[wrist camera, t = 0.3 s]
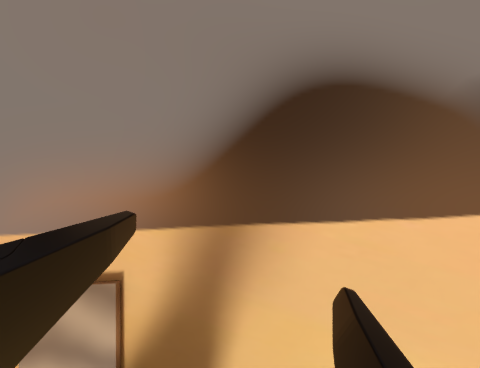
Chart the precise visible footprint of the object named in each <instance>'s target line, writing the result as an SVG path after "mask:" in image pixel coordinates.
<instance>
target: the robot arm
mask: <svg viewBox="0 0 480 368" xmlns="http://www.w3.org/2000/svg"><path fill="white" fill-rule="evenodd" d="M135 231H136V214H135V213H132V212H129V211H124V212H120V213H117V214H113V215H109V216H105V217H101V218H98V219H94V220H90V221H87V222H83V223H79V224H75V225H72V226H68V227H64V228H61V229H57V230H53V231H49V232H45V233H42V234H38V235H34V236H30V237H27V238H25V239H19V240H15V241H12V242H8V243H4V244H0V368H15V367H16V366H17V365H18V364H19V363H20V362H21V360H22V359H23V358H24V357H25V356H26V355H27V354H28V353H29V352H30V351H31V350H32V349H33V348H34V346H35V345H36V344H37V343H38V342H39V341H40V340H41V339H42V338H43V337H44V336H45V335H46V333H47V332H48V331H49V330H50V329H51V328H52V327H53V326H54V325H55V324H56V323H57V322H58V321H59V319H60V318H61V317H62V316H63V315H64V314H65V313H66V312H67V311H68V310H69V309H70V308H71V306H72V305H73V304H74V303H75V302H76V301H77V300H78V299H79V298H80V297H81V296H82V295H83V294H84V292H85V291H86V290H87V289H88V288H89V287H90V286H91V285H92V284H93V283H94V282H95V281H96V279H97V278H98V277H99V276H100V275H101V274H102V273H103V272H104V271H105V270H106V269H107V268H108V266H109V265H110V264H111V263H112V262H113V261H114V259H115V258H116V257H117V256H118V254H119V253H120V252H121V250H122V249H123V248H124V246H125V245H126V244H127V242H128V241H129V240H130V238H131V237H132V236H133V234H134V233H135ZM333 355H334V364H335V368H414V367H413V366H412V365H411V363H410V362H409V361H408V360H407V358H406V357H405V356H404V354H403V353H402V352H401V351H400V349H399V348H398V347H397V345H396V344H395V343H394V341H393V340H392V339H391V338H390V336H389V335H388V334H387V332H386V331H385V330H384V328H383V327H382V326H381V325H380V323H379V322H378V321H377V319H376V318H375V317H374V316H373V314H372V313H371V312H370V310H369V309H368V308H367V306H366V305H365V304H364V303H363V301H362V300H361V299H360V297H359V296H358V295H357V294H356V292H355V291H354V290H351V289H348V288H346V287H343V288H341V290H340V291H339V293H338V294H337V296H336V297H335V299H334V301H333Z"/></svg>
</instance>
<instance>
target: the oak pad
mask: <svg viewBox="0 0 480 368" xmlns="http://www.w3.org/2000/svg"><path fill="white" fill-rule="evenodd" d="M19 368H121V357H120V281H104V282H94V283H93V284H92V285H91V286H90V287H89V288H88V289H87V290H86V291H85V292H84V294H83V295H82V296H81V297H80V298H79V299H78V300H77V301H76V302H75V303H74V304H73V305H72V306H71V308H70V309H69V310H68V311H67V312H66V313H65V314H64V315H63V316H62V317H61V318H60V319H59V321H58V322H57V323H56V324H55V325H54V326H53V327H52V328H51V329H50V330H49V331H48V332H47V333H46V335H45V336H44V337H43V338H42V339H41V340H40V341H39V342H38V343H37V344H36V345H35V346H34V348H33V349H32V350H31V351H30V352H29V353H28V354H27V355H26V356H25V357H24V358H23V359H22V360H21V362H20V363H19Z"/></svg>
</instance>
